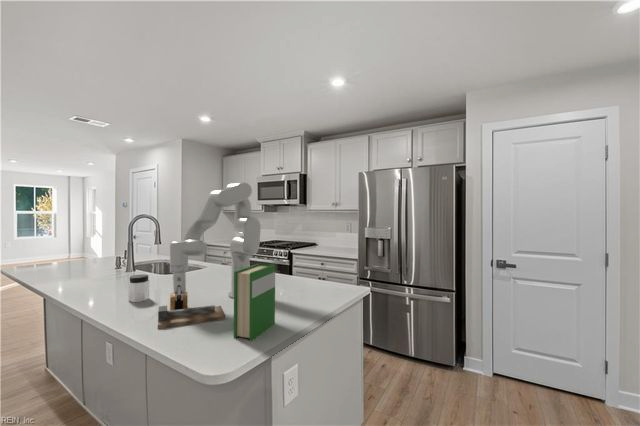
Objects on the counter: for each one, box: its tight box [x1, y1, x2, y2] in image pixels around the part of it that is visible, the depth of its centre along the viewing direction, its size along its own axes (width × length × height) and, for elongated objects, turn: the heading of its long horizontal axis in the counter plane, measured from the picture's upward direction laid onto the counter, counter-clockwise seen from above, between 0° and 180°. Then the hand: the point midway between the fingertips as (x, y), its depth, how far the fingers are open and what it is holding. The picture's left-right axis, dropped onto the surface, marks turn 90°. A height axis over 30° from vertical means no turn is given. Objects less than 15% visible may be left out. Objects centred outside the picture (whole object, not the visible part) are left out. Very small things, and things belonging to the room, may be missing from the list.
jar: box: [128, 273, 150, 303], centre depth 151 cm, size 9×8×12 cm
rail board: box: [157, 304, 226, 329], centre depth 127 cm, size 25×14×6 cm, turn 116°
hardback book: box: [233, 262, 276, 342], centre depth 115 cm, size 18×7×24 cm, turn 161°
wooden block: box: [169, 291, 189, 311], centre depth 137 cm, size 7×6×7 cm
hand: (178, 306), depth 137 cm, fingers open, 7 cm apart
